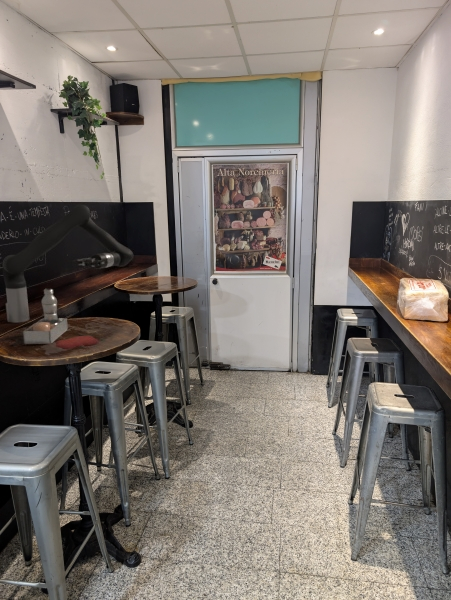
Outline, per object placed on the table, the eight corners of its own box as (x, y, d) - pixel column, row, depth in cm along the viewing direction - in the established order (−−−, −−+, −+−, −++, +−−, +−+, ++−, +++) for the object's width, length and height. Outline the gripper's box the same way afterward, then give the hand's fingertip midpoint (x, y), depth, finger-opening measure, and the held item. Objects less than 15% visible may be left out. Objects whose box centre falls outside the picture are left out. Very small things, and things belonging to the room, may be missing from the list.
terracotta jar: (31, 342, 178) (30, 326, 176) (37, 337, 184) (36, 322, 183) (47, 342, 178) (46, 326, 177) (53, 337, 185) (51, 322, 183)
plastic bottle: (54, 335, 188) (51, 291, 184) (41, 334, 189) (37, 290, 185) (62, 331, 194) (59, 288, 190) (49, 330, 195) (46, 288, 191)
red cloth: (62, 353, 168) (62, 348, 167) (49, 345, 178) (49, 340, 177) (103, 344, 179) (103, 339, 179) (88, 336, 189) (88, 332, 189)
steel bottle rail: (24, 345, 176) (22, 331, 175) (44, 330, 197) (42, 318, 196) (51, 345, 176) (49, 331, 175) (67, 330, 197) (66, 318, 196)
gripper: (92, 252, 219) (67, 255, 205) (113, 254, 212) (89, 256, 198) (93, 266, 220) (68, 270, 206) (113, 268, 214) (89, 272, 200)
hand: (78, 263), depth 202 cm, fingers open, 8 cm apart
